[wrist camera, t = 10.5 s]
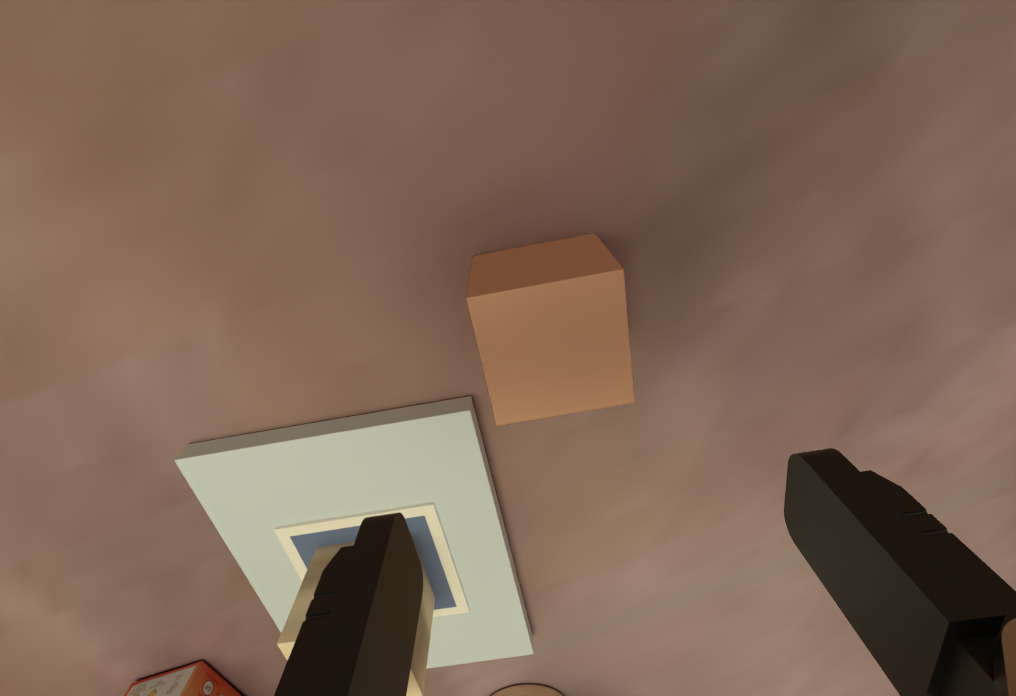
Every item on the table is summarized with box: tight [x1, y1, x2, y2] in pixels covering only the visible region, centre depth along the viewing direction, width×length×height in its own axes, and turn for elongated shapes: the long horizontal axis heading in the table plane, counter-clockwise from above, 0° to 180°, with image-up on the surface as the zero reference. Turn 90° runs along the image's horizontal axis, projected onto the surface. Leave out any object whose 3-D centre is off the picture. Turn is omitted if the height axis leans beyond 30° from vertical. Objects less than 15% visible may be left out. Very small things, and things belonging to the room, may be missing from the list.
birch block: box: [277, 533, 435, 696], centre depth 24 cm, size 5×5×5 cm
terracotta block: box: [466, 233, 635, 426], centre depth 19 cm, size 5×5×5 cm
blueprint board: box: [174, 396, 534, 669], centre depth 26 cm, size 18×14×1 cm
